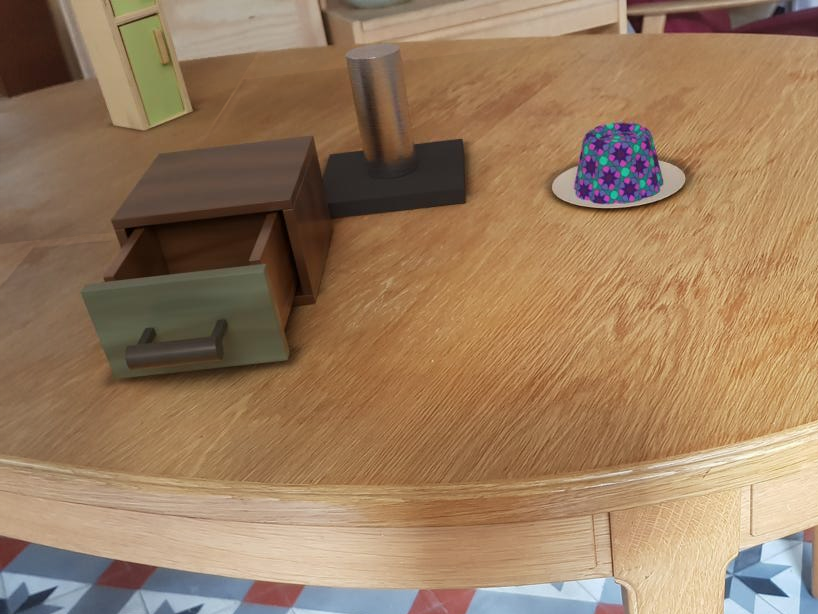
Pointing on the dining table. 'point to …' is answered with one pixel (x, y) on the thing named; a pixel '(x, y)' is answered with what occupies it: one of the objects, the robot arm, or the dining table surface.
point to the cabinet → (240, 196)
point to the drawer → (196, 296)
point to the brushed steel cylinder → (382, 110)
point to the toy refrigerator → (133, 60)
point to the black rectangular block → (396, 182)
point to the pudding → (618, 170)
